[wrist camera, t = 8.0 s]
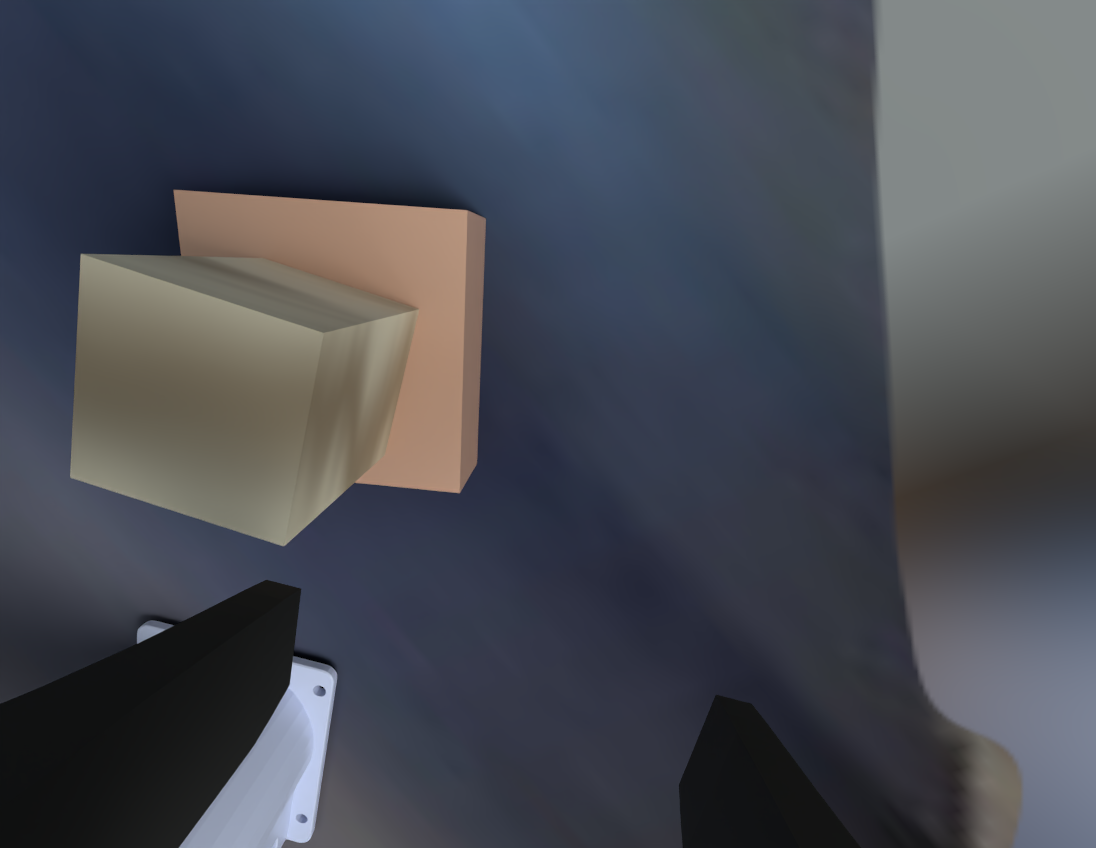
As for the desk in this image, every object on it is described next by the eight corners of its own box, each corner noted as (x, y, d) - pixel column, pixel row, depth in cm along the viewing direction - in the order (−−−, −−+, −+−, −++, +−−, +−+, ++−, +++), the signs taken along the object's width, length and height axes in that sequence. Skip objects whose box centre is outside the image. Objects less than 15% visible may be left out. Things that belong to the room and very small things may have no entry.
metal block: (384, 455, 16) (283, 546, 11) (240, 408, 16) (70, 477, 11) (419, 309, 15) (323, 332, 10) (263, 257, 15) (81, 253, 10)
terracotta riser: (479, 459, 19) (459, 493, 16) (262, 438, 20) (205, 467, 17) (488, 219, 17) (467, 210, 14) (242, 202, 17) (173, 189, 15)
